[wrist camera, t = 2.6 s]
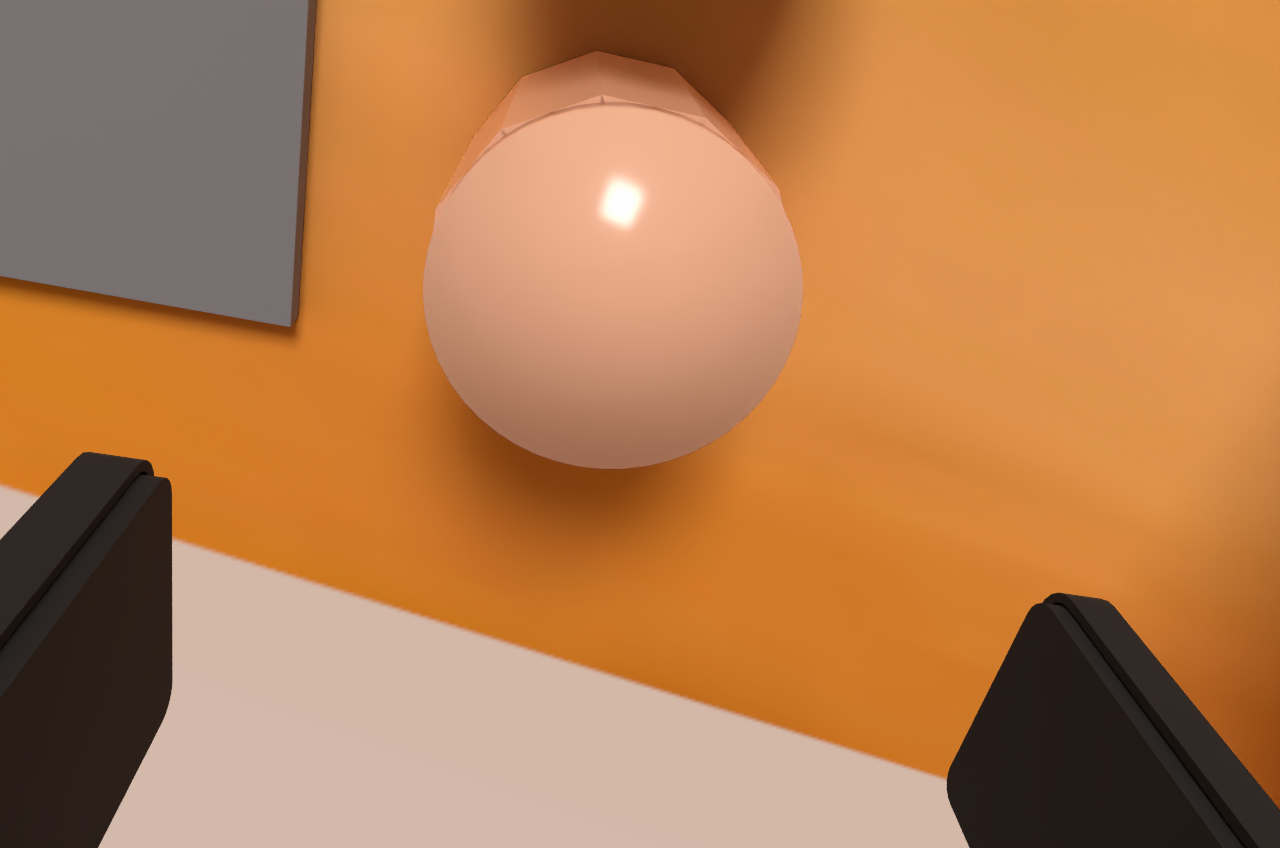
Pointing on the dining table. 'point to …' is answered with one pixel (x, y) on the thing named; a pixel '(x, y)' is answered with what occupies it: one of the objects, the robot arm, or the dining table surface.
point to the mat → (158, 149)
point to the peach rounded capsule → (611, 268)
